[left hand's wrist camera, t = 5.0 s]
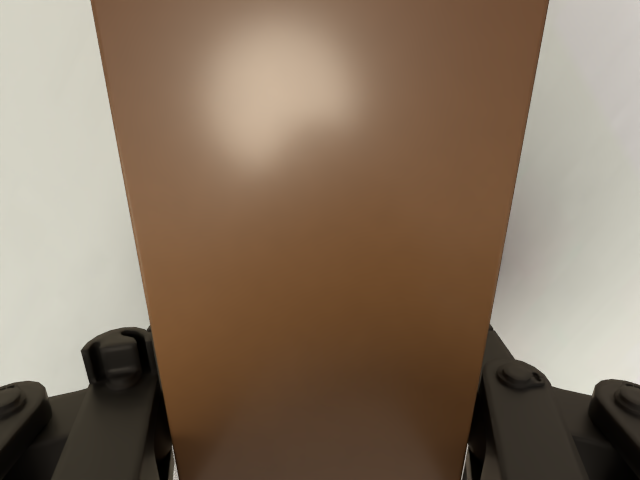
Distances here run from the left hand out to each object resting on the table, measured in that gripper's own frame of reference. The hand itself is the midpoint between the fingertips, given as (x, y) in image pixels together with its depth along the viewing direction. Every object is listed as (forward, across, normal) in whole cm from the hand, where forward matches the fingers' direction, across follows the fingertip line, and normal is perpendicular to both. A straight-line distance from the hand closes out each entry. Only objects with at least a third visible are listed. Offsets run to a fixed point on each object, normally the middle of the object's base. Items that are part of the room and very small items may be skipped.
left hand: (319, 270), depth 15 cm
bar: (+1, 0, -8) cm, 8 cm away
